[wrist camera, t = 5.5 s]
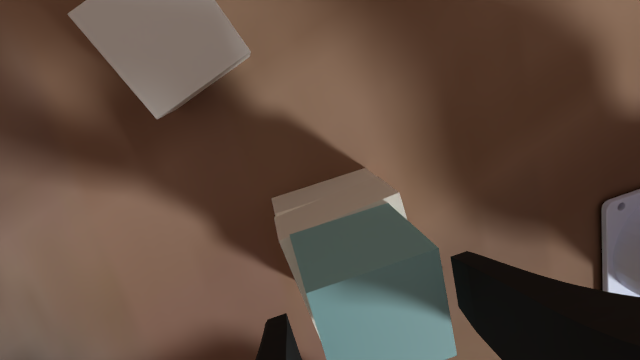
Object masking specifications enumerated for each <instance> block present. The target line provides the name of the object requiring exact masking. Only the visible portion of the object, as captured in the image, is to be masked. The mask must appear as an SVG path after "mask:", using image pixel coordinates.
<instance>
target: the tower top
mask: <svg viewBox="0 0 640 360" xmlns="http://www.w3.org/2000/svg"><path fill="white" fill-rule="evenodd" d="M386 203H389V204H390V205H391V206H392V207H393V208H394V209H395V210H397V211H398V212H399V213H400V214H401V215H402V216H403V217H404V218H406V214H405V211H404V207H403V204H402V200H401V197H400V194H399V192H398V191H397V190H395V189H394V188H393V187H391V186H390V185H389V184H387V183H386V182H385V181H383V180H382V179H381V178H379V177H378V176H377V177H374V178H372V179H369V180H367V181H364V182H362V183H359V184H357V185H354V186H352V187H349V188H347V189H344V190H342V191H339V192H337V193H334V194H331V195H329V196H326V197H324V198H321V199H319V200H317V201H314V202H312V203H309V204H307V205H304V206H302V207H299V208H296V209H294V210H291V211H289V212H286V213H284V214H281V215H279V216H276V217H274V221H275V225H276V230H277V235H278V240H279V243H280V245H281V248H282V250H283V253H284V255H285V257H286V260H287V262H288V264H289V267H290V269H291V271H292V274H293V276H294V279H295V281H296V283H297V286H298V288H299V290H300V293H301V295H302V297H303V300H304V302H305V305H306V307H307V309H308V312H309V314H310V316H311V319H312V321H313V323H314V326H315V328H316V331H317V333H318V330H317V327H316V324H315V320H314V317H313V314H312V311H311V308H310V305H309V301H308V298H307V295H306V292H305V288H304V285H303V281H302V278H301V274H300V270H299V267H298V263H297V260H296V256H295V253H294V249H293V246H292V242H291V239H290V235H289V234H293V233H296V232H299V231H302V230H305V229H308V228H311V227H314V226H317V225H320V224H324V223H327V222H330V221H333V220H336V219H339V218H342V217H345V216H348V215H352V214H355V213H358V212H361V211H364V210H367V209H370V208H373V207H376V206H379V205H383V204H386ZM406 219H407V218H406ZM318 335H319V333H318ZM319 338H320V336H319Z"/></svg>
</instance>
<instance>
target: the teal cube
mask: <svg viewBox="0 0 640 360" xmlns="http://www.w3.org/2000/svg"><path fill="white" fill-rule="evenodd" d="M289 235H290V239H291V242H292V246H293V249H294V253H295V256H296V260H297V263H298V267H299V270H300V274H301V278H302V281H303V285H304V288H305V292H306V295H307V298H308V301H309V305H310V308H311V311H312V314H313V317H314V320H315V324H316V327H317V330H318V333H319V336H320V340H321V343H322V346H323V349H324V352H325V356H326V359H327V360H446V359H448V358H451V357H454V356H456V355H457V353H456V347H455V341H454V335H453V330H452V324H451V318H450V312H449V306H448V300H447V295H446V289H445V283H444V277H443V271H442V266H441V260H440V254H439V248H438V247H437V246H436V245H434V244H433V243H432V242H431V241H430V240H429V239H428V238H427V237H426V236H424V235H423V234H422V233H421V232H420V231H419V230H418V229H417V228H416V227H414V226H413V225H412V224H411V223H410V222H409V221H408V220H407V219H406V218H404V217H403V216H402V215H401V214H400V213H399V212H398V211H397V210H395V209H394V208H393V207H392V206H391V205H390V204H389V203H386V204H383V205H379V206H376V207H373V208H370V209H367V210H364V211H361V212H358V213H355V214H352V215H348V216H345V217H342V218H339V219H336V220H333V221H330V222H327V223H324V224H320V225H317V226H314V227H311V228H308V229H305V230H302V231H299V232H296V233H293V234H289Z"/></svg>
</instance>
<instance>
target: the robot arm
mask: <svg viewBox="0 0 640 360" xmlns="http://www.w3.org/2000/svg"><path fill="white" fill-rule="evenodd" d="M601 213H602V273H603V291H601V290H596V289H591V288H587V287H582V286H577V285H573V284H569V283H565V282H562V281H558V280H555V279H551V278H548V277H544V276H541V275H537V274H534V273H531V272H528V271H525V270H522V269H519V268H516V267H513V266H510V265H507V264H504V263H501V262H498V261H496V260H493V259H490V258H487V257H484V256H481V255H478V254H475V253H472V252H468V251H466V252H463V253H460V254H458V255H455V256H452V257H451V262H452V268H453V275H454V281H455V287H456V293H457V299H458V306H459V308H460V309H461V311H462V312H463V314H464V315H465V317H466V318H467V319H468V321H469V322H470V324H471V325H472V326H473V328H474V329H475V330H476V332H477V333H478V334H479V335H480V336H481V337H482V339H483V340H484V341H485V342H486V343H487V344H488V345H489V346H490V347H491V348H492V349H493V351H494V352H495V353H496V354H497V355H498V356H499V357H500V358H501V359H502V360H640V189H638V190H635V191H632V192H629V193H626V194H624V195H621V196H618V197H615V198H612V199H609V200H607V201H605V202H604V203H603V205H602V209H601ZM256 360H302V359H301V356H300V353H299V350H298V347H297V344H296V341H295V338H294V335H293V332H292V329H291V326H290V323H289V320H288V317H287V314H283V315H280V316H277V317H274V318H271V319H268V320H267V322H266V324H265V328H264V333H263V337H262V340H261V344H260V347H259V351H258V354H257V357H256Z"/></svg>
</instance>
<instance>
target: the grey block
mask: <svg viewBox="0 0 640 360" xmlns="http://www.w3.org/2000/svg"><path fill="white" fill-rule="evenodd" d="M68 16H69V17H70V18H71V19H72V20H73V21H74V23H75V24H76V25H77V26H78V27H79V29H80V30H81V31H82V32H83V33H84V34H85V36H86V37H87V38H88V39H89V40H90V41H91V43H92V44H93V45H94V46H95V47H96V49H97V50H98V51H99V52H100V53H101V54H102V56H103V57H104V58H105V59H106V60H107V61H108V63H109V64H110V65H111V66H112V67H113V69H114V70H115V71H116V72H117V73H118V74H119V76H120V77H121V78H122V79H123V80H124V81H125V83H126V84H127V85H128V86H129V87H130V89H131V90H132V91H133V92H134V93H135V94H136V96H137V97H138V98H139V99H140V100H141V101H142V103H143V104H144V105H145V106H146V107H147V109H148V110H149V111H150V112H151V113H152V114H153V116H154V117H155V118H156V119H159V118H161V117H163V116H165V115H167V114H169V113H171V112H173V111H175V110H177V109H178V108H179V107H181V106H182V105H184V104H185V103H186V102H188V101H189V100H191V99H192V98H193V97H195V96H196V95H197V94H199V93H200V92H202V91H203V90H204V89H206V88H207V87H208V86H210V85H211V84H213V83H214V82H215V81H217V80H218V79H220V78H221V77H222V76H224V75H225V74H226V73H228V72H229V71H231V70H232V69H233V68H235V67H236V66H238V65H239V64H240V63H242V62H243V61H244V60H246V59H247V58H249V57H250V53H251V51H250V50H249V48H248V47H247V45H246V44H245V43H244V41H243V40H242V38H241V37H240V35H239V34H238V33H237V31H236V30H235V28H234V27H233V25H232V24H231V23H230V21H229V20H228V18H227V17H226V15H225V14H224V13H223V11H222V10H221V8H220V7H219V5H218V4H217V3H216V1H215V0H86V1H84V2H83V3H82V4H80V5H79V6H77V7H76V8H75V9H73V10H72V11H70V12H69V13H68Z"/></svg>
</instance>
